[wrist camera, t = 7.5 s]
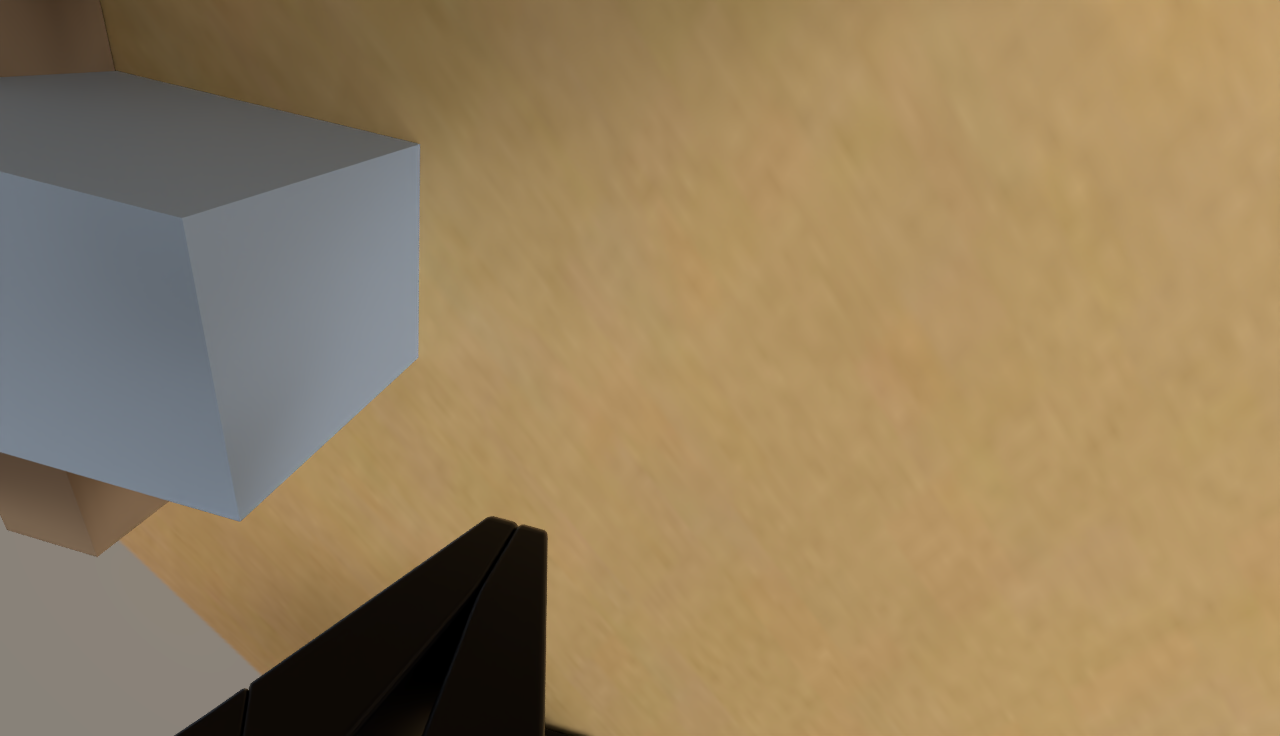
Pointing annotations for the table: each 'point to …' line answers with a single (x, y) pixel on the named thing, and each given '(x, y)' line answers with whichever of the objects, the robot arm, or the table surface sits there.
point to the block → (194, 283)
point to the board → (8, 485)
